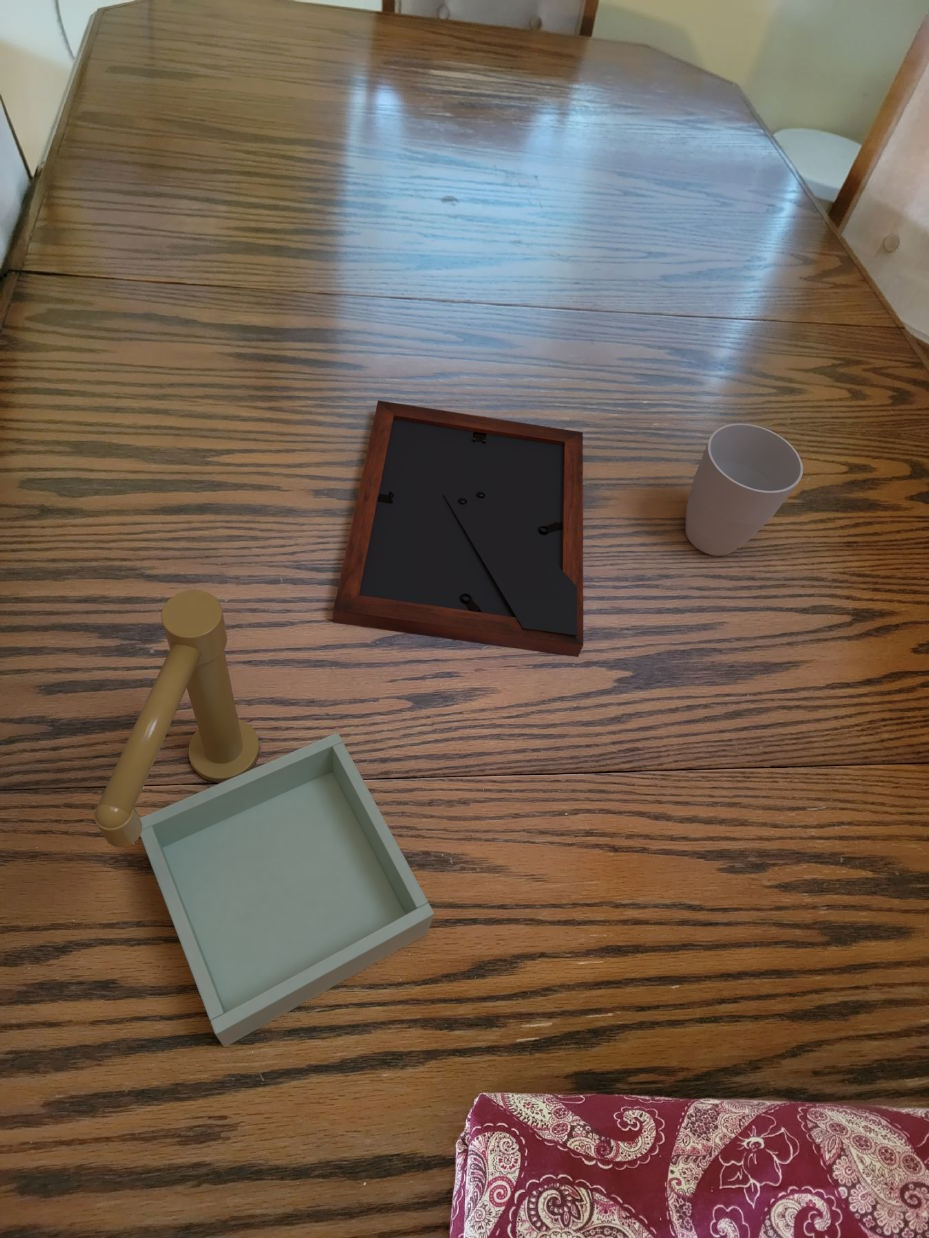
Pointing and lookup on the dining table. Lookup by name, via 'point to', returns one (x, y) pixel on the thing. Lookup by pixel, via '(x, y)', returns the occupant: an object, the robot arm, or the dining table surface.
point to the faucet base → (218, 725)
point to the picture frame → (467, 531)
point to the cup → (739, 486)
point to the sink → (282, 885)
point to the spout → (160, 708)
